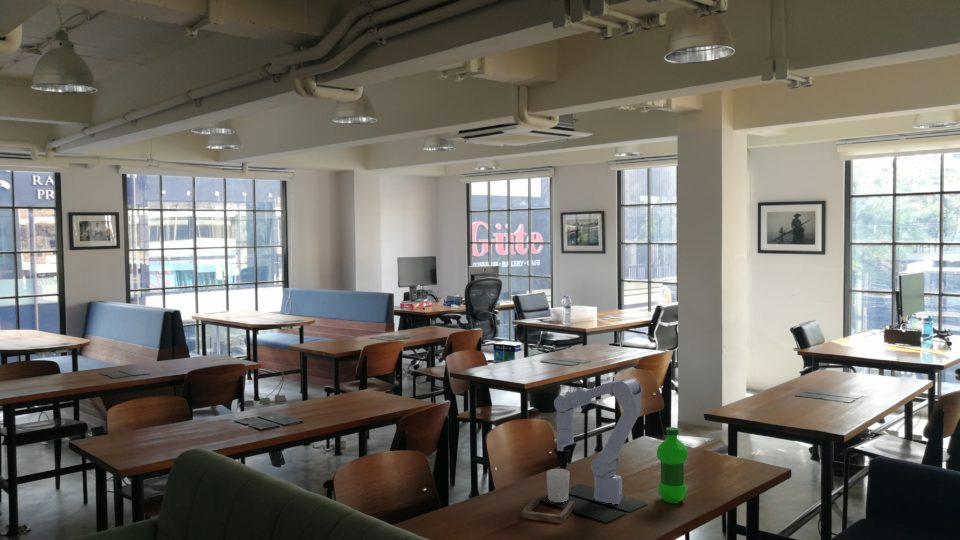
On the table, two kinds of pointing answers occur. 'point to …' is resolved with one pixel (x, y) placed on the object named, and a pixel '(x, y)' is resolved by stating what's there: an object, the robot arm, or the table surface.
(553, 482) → the white cup
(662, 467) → the plastic bottle
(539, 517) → the walnut bay
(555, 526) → the table surface
